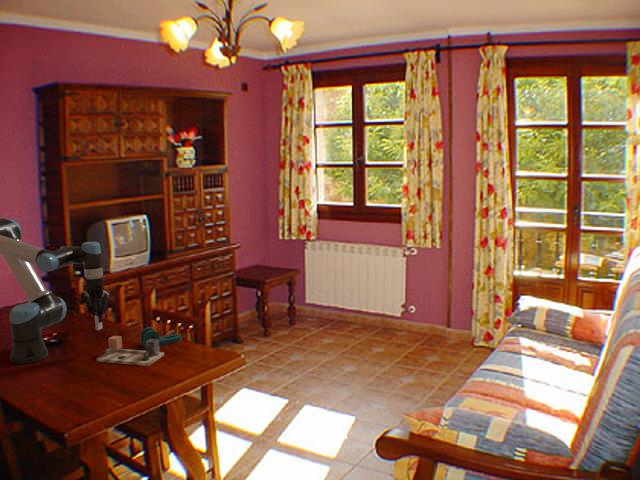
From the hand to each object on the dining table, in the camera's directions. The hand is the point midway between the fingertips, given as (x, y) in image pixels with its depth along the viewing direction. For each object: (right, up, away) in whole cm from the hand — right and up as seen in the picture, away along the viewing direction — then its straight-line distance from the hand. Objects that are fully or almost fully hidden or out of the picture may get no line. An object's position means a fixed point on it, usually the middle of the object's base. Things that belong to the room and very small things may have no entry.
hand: (99, 329), depth 266 cm
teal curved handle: (+25, -9, +13) cm, 29 cm away
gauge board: (+16, -12, -6) cm, 21 cm away
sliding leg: (+7, -10, -3) cm, 12 cm away
